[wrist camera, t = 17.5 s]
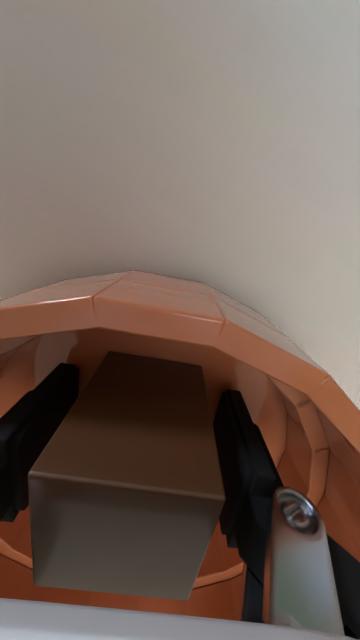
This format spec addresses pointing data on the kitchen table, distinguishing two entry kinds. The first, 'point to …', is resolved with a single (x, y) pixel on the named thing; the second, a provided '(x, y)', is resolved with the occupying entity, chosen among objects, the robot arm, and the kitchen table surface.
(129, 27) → the kitchen table surface
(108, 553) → the walnut block
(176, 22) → the kitchen table surface
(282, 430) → the bowl
